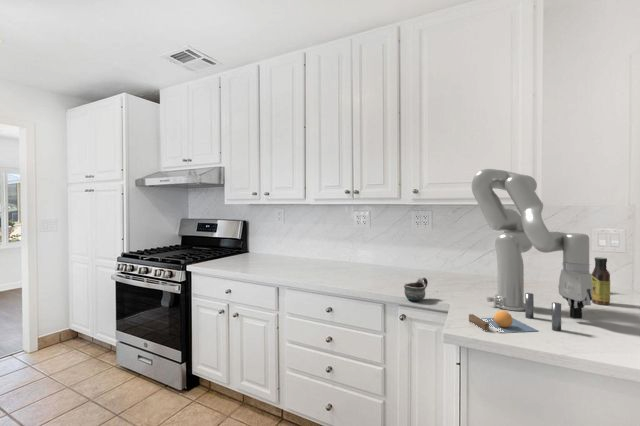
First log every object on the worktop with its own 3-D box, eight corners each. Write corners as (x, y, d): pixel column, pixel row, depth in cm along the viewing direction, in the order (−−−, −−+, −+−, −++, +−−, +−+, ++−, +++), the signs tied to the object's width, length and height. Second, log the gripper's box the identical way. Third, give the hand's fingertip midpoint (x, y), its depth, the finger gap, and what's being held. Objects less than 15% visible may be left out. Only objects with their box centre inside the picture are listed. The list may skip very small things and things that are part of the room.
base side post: (528, 318, 122) (528, 294, 121) (523, 316, 124) (523, 293, 124) (535, 318, 122) (535, 294, 122) (530, 316, 124) (530, 292, 124)
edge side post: (556, 331, 109) (556, 304, 109) (549, 328, 111) (549, 302, 111) (563, 331, 109) (563, 304, 109) (557, 328, 112) (557, 302, 112)
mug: (399, 300, 148) (399, 278, 148) (414, 295, 157) (414, 274, 156) (418, 304, 141) (418, 281, 141) (433, 299, 149) (433, 277, 149)
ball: (499, 315, 110) (513, 310, 111) (488, 311, 116) (502, 307, 117) (503, 331, 110) (518, 326, 111) (493, 327, 116) (507, 322, 116)
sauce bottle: (591, 300, 145) (590, 256, 144) (609, 303, 141) (609, 257, 140) (591, 303, 139) (591, 257, 139) (610, 306, 135) (610, 259, 135)
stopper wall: (484, 331, 110) (484, 323, 110) (468, 321, 120) (468, 314, 120) (488, 331, 110) (488, 323, 110) (472, 320, 120) (472, 314, 120)
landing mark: (499, 333, 108) (499, 332, 108) (475, 318, 122) (475, 318, 122) (538, 331, 109) (538, 330, 109) (510, 317, 123) (510, 317, 123)
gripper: (549, 264, 125) (550, 311, 125) (584, 271, 110) (584, 325, 110) (568, 263, 125) (568, 311, 125) (605, 271, 110) (605, 324, 110)
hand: (575, 317), depth 118 cm, fingers closed
